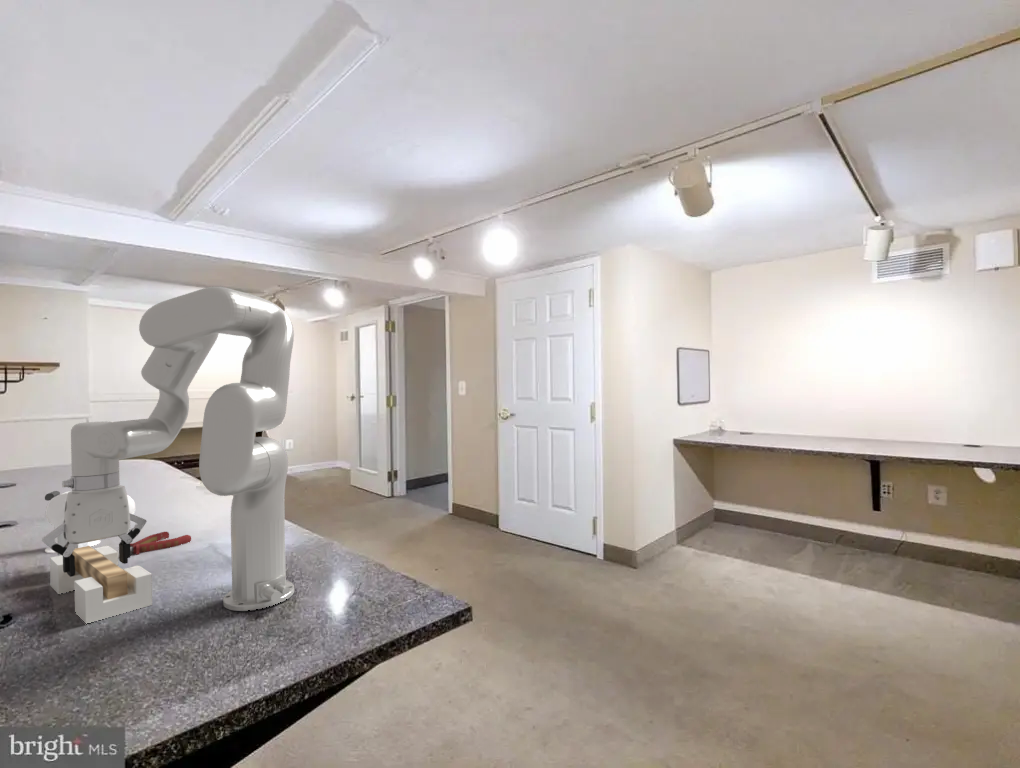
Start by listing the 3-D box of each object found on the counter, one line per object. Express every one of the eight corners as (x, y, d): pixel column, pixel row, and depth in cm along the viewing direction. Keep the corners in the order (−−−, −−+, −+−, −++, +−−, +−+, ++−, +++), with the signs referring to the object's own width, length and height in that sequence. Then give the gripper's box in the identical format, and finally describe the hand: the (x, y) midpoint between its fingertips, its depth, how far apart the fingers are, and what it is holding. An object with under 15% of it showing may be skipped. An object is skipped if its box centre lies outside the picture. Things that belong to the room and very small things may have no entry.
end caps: (152, 604, 97) (151, 573, 97) (85, 624, 89) (85, 591, 89) (108, 571, 116) (107, 545, 116) (50, 585, 108) (49, 557, 108)
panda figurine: (110, 537, 143) (108, 484, 143) (93, 549, 133) (92, 492, 133) (57, 543, 139) (56, 488, 139) (35, 555, 129) (34, 497, 129)
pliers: (82, 562, 124) (82, 552, 124) (166, 539, 142) (166, 529, 142) (111, 568, 119) (110, 557, 119) (193, 543, 138) (193, 533, 138)
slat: (127, 594, 95) (127, 572, 95) (108, 599, 93) (107, 577, 93) (89, 563, 113) (89, 545, 113) (71, 567, 110) (71, 549, 110)
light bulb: (140, 529, 151) (139, 492, 151) (113, 535, 145) (112, 497, 145) (130, 526, 154) (129, 490, 154) (103, 532, 149) (102, 495, 149)
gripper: (42, 492, 94) (44, 586, 94) (152, 477, 107) (154, 560, 107) (34, 487, 98) (36, 577, 98) (141, 474, 112) (143, 553, 112)
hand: (98, 568), depth 103 cm, fingers open, 8 cm apart
